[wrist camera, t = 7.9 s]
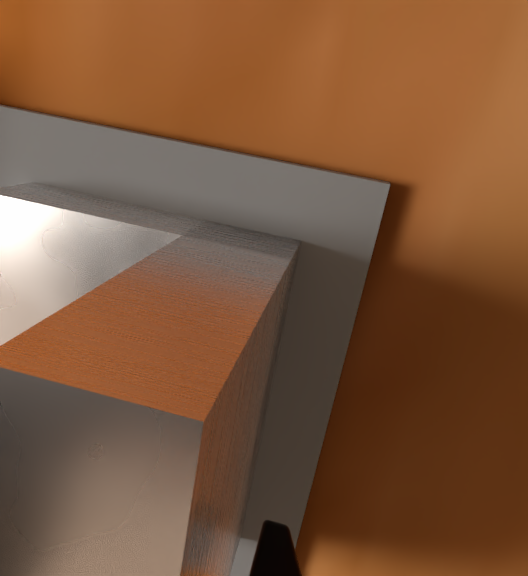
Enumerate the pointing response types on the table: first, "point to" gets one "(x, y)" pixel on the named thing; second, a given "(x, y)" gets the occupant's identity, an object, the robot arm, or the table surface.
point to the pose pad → (251, 215)
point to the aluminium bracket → (131, 383)
